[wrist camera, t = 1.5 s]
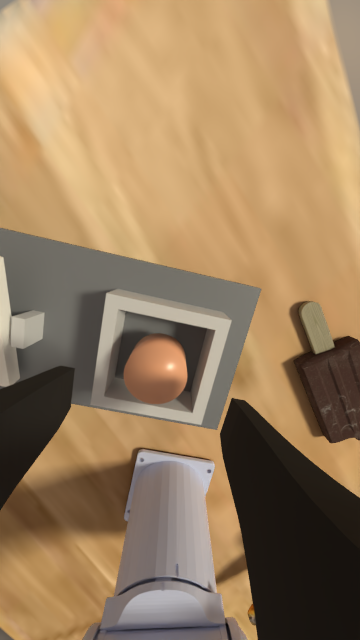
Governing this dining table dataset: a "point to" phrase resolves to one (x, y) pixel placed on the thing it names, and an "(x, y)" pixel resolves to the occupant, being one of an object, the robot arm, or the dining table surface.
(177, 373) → the button
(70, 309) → the grey board with tray
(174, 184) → the dining table surface
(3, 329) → the rocker switch
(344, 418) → the ice cream bar
